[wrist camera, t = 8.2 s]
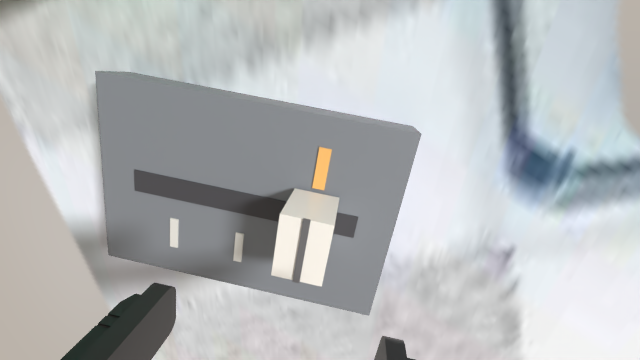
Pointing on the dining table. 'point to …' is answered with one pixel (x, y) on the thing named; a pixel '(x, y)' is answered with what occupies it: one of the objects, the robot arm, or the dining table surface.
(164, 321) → the robot arm
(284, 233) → the fader
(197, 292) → the dining table surface
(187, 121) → the fader console
